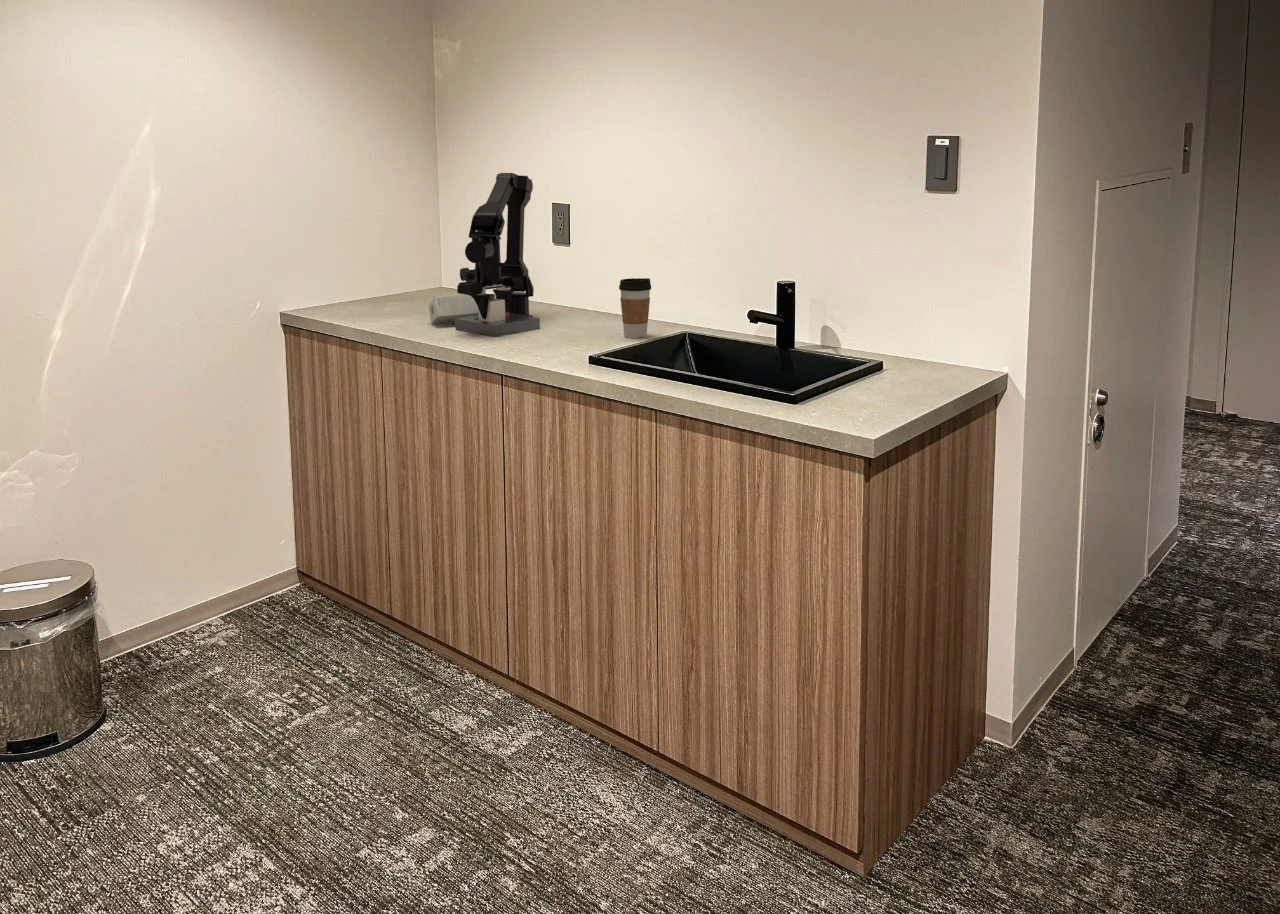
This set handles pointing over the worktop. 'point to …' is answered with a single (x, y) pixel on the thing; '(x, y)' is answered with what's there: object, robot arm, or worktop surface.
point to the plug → (494, 310)
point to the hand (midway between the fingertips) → (491, 317)
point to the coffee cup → (635, 306)
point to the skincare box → (451, 308)
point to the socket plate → (498, 325)
